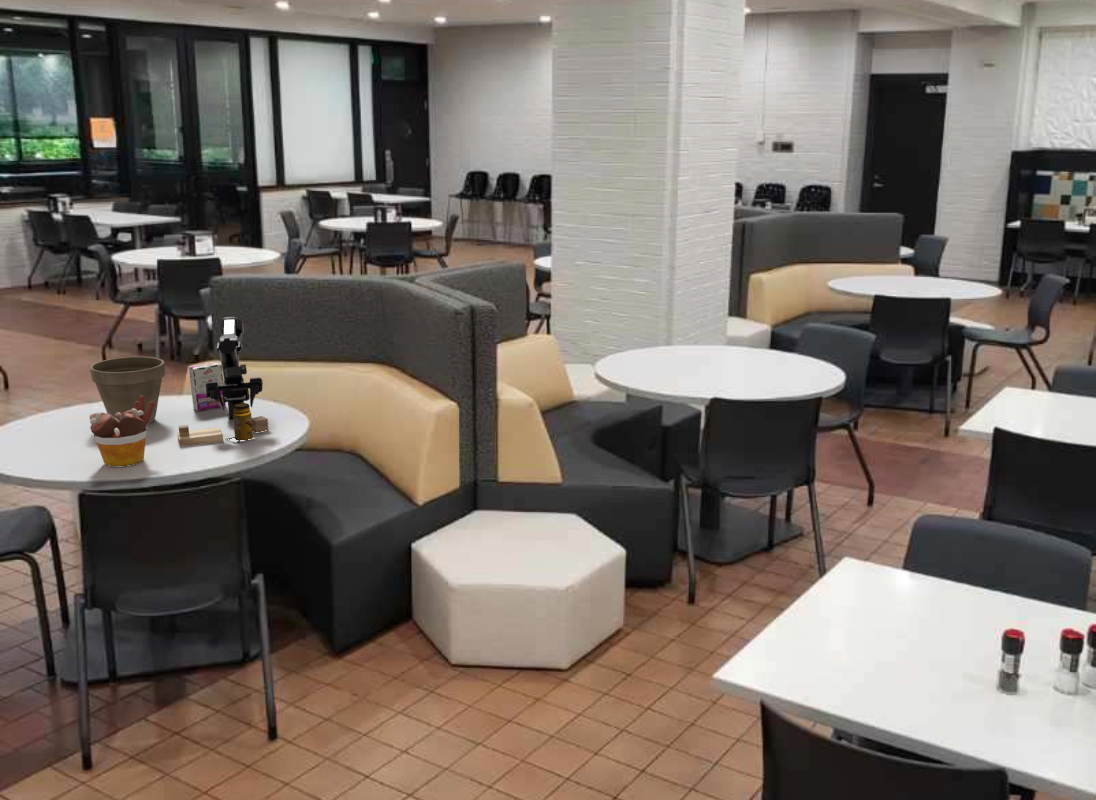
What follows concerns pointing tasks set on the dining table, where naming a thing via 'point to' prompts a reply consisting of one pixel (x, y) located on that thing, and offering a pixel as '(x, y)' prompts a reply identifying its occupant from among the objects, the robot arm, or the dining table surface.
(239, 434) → the condiment
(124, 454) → the bucket of meat
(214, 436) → the foundation
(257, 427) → the block
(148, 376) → the plant pot
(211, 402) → the candy bar box
